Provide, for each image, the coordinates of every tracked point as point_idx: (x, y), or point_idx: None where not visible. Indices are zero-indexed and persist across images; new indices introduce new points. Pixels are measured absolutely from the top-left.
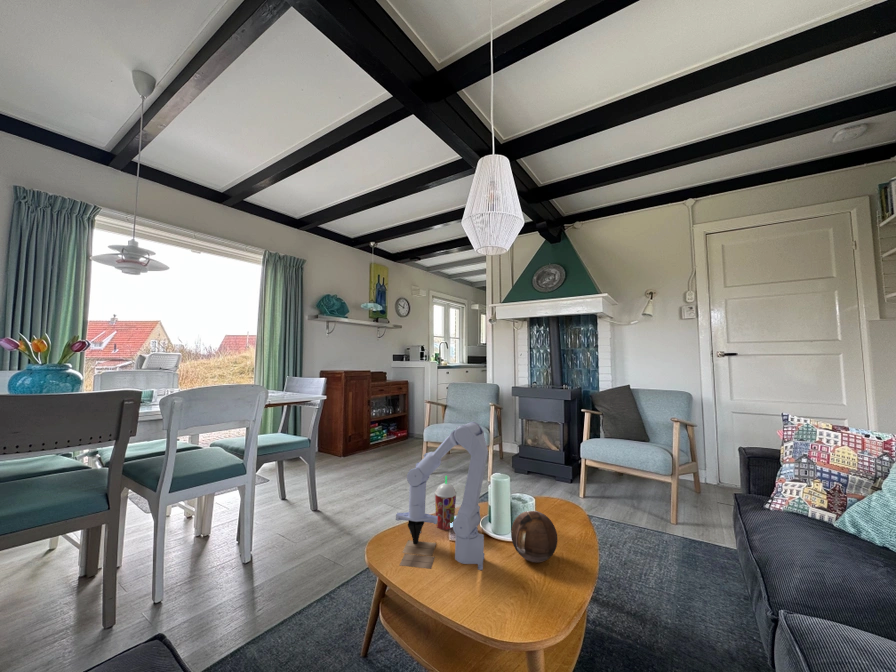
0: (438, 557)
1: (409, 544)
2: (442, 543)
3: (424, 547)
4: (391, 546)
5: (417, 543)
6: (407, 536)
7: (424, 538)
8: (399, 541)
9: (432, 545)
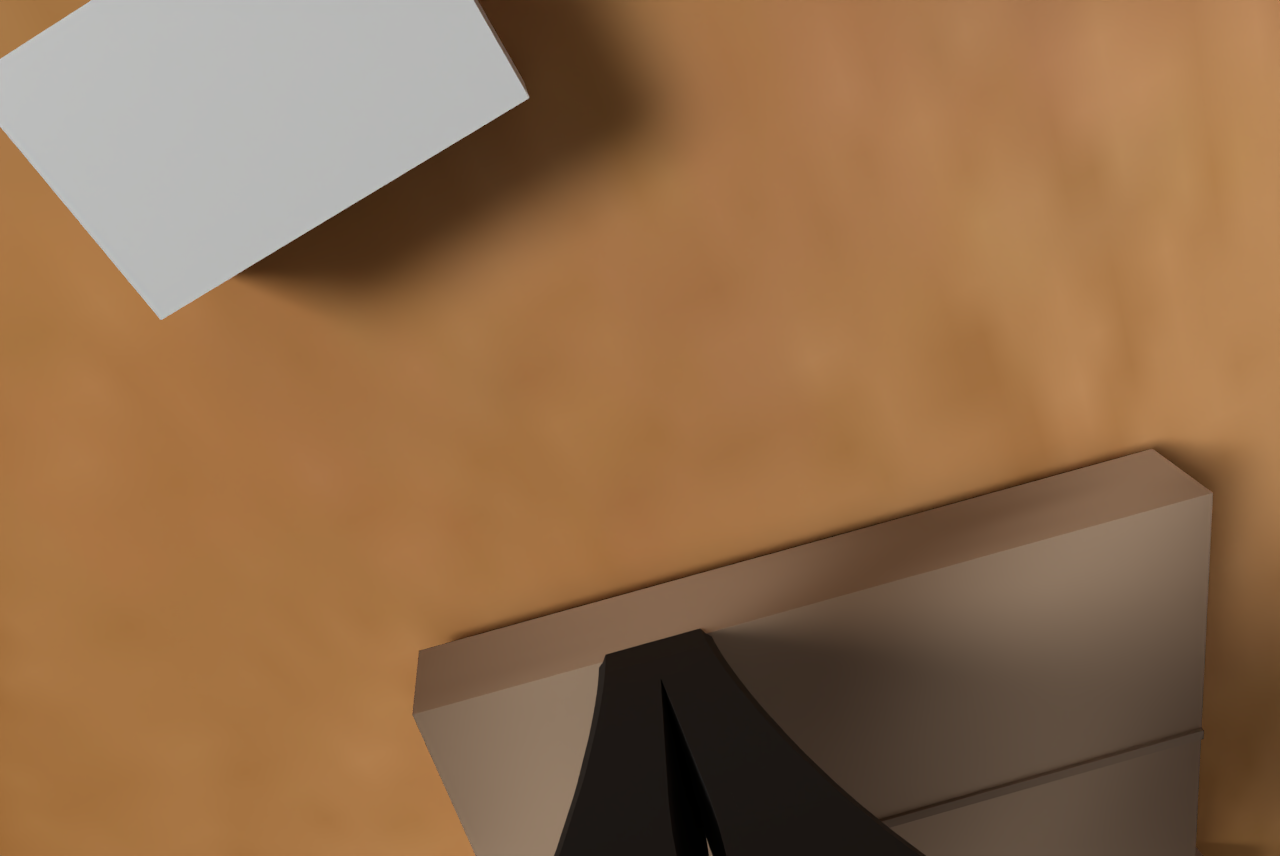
0: (1242, 723)
1: None
2: (1269, 163)
3: (965, 780)
4: (104, 849)
5: None
6: (97, 249)
7: (678, 120)
8: (101, 599)
9: (1135, 634)
